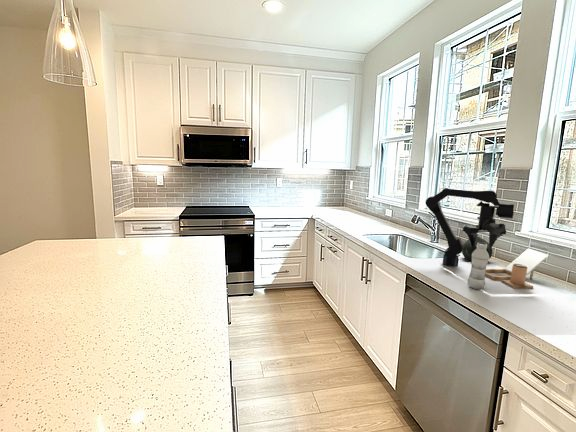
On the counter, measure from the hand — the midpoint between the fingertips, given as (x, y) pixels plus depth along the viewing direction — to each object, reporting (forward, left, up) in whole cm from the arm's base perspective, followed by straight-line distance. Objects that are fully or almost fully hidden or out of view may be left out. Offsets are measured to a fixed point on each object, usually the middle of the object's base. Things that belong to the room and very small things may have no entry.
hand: (481, 247), depth 151 cm
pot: (+4, -19, -11) cm, 22 cm away
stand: (+4, -19, -13) cm, 23 cm away
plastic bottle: (-16, -20, -13) cm, 29 cm away
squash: (+13, +19, -13) cm, 27 cm away
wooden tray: (+5, -7, -13) cm, 16 cm away
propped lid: (+18, -7, -13) cm, 23 cm away
